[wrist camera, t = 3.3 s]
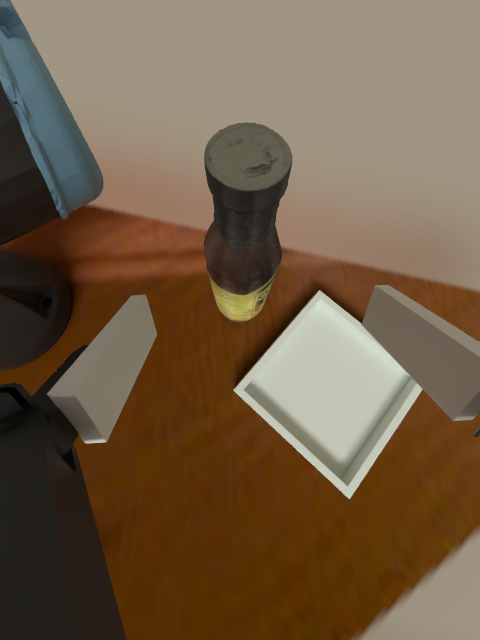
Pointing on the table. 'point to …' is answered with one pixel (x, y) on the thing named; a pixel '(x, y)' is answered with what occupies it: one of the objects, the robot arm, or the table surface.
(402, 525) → the table surface
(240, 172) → the sauce bottle
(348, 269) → the table surface
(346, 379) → the tray
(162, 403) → the table surface
